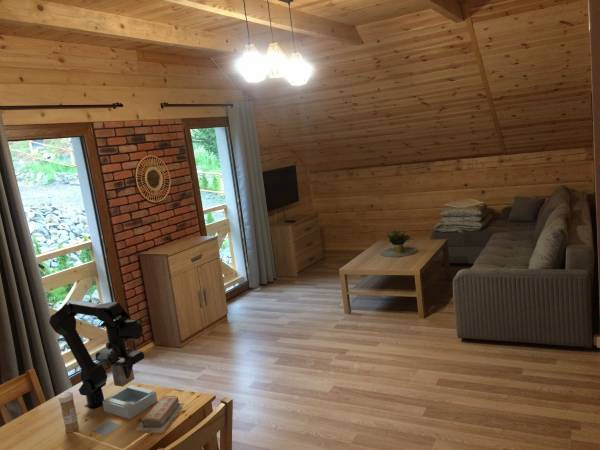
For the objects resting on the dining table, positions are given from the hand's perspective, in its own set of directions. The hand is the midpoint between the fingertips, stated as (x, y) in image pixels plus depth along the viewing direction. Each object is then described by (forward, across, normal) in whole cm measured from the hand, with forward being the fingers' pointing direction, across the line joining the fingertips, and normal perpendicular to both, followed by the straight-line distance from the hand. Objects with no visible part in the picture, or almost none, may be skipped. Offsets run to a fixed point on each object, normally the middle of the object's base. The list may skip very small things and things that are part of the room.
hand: (123, 377), depth 193 cm
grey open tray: (+13, 0, +1) cm, 13 cm away
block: (+2, 0, 0) cm, 2 cm away
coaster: (+13, +2, -13) cm, 18 cm away
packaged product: (+13, +17, -2) cm, 22 cm away
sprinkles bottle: (+13, -11, -17) cm, 24 cm away
